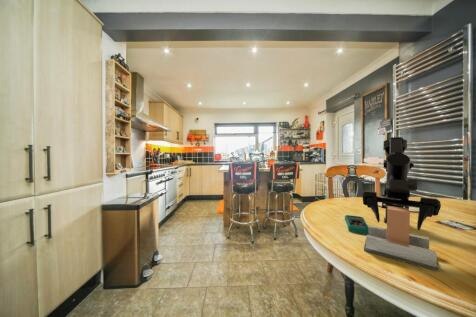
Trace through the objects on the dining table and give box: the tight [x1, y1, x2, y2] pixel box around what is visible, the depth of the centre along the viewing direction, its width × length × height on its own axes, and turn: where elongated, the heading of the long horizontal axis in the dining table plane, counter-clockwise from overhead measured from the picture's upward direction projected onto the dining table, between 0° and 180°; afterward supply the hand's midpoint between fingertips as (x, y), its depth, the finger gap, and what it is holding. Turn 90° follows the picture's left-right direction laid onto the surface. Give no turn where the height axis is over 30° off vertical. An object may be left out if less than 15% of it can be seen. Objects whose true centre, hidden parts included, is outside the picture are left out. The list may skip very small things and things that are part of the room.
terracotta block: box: [386, 205, 411, 245], centre depth 56 cm, size 5×5×12 cm
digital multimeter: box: [344, 214, 369, 235], centre depth 76 cm, size 7×15×3 cm, turn 155°
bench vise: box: [363, 225, 440, 272], centre depth 59 cm, size 20×16×4 cm
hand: (397, 225), depth 55 cm, fingers open, 9 cm apart
